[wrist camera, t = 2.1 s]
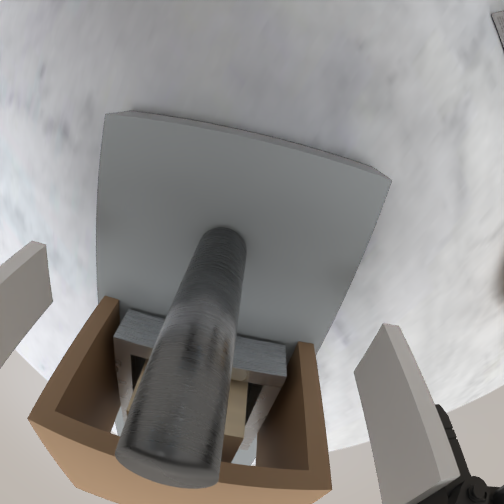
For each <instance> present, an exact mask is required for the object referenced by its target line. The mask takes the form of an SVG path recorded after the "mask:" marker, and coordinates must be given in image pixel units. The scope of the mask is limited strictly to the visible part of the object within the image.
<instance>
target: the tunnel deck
mask: <svg viewBox="0 0 504 504" xmlns="http://www.w3.org/2000/svg"><path fill="white" fill-rule="evenodd" d="M391 182H392V180H391V179H390V178H388V177H387V176H385V175H384V174H382V173H381V172H379V171H378V170H376V169H375V168H373V167H371V166H368V165H365V164H362V163H359V162H356V161H353V160H350V159H347V158H344V157H341V156H338V155H334V154H331V153H328V152H325V151H321V150H318V149H314V148H311V147H308V146H304V145H300V144H297V143H293V142H289V141H286V140H282V139H278V138H274V137H270V136H266V135H262V134H258V133H253V132H249V131H245V130H240V129H236V128H231V127H226V126H221V125H216V124H211V123H206V122H201V121H195V120H190V119H184V118H178V117H172V116H165V115H158V114H151V113H144V112H136V111H124V112H116V113H109V114H105V121H104V128H103V136H102V144H101V154H100V164H99V177H98V192H97V216H96V266H97V290H98V306H97V307H96V308H95V310H94V311H93V313H92V314H91V316H90V317H89V319H88V320H87V322H86V323H85V325H84V326H83V328H82V329H81V331H80V332H79V334H78V335H77V337H76V338H75V340H74V341H73V343H72V344H71V346H70V347H69V349H68V350H67V352H66V354H65V355H64V357H63V358H62V360H61V362H60V363H59V365H58V366H57V368H56V370H55V371H54V373H53V375H52V376H51V378H50V380H49V381H48V383H47V385H46V387H45V388H44V390H43V392H42V393H41V395H40V397H39V399H38V400H37V402H36V404H35V406H34V407H33V409H32V411H31V413H30V415H29V417H28V420H29V422H30V424H31V425H32V427H33V429H34V430H35V432H36V433H37V435H38V436H39V438H40V439H41V441H42V443H43V444H44V445H45V447H46V448H47V450H48V451H49V453H50V454H51V456H52V457H53V458H54V460H55V461H56V462H57V464H58V465H59V467H60V468H61V469H62V470H63V472H64V473H65V474H66V476H67V477H68V478H69V479H70V481H71V482H72V483H73V484H74V486H75V487H76V488H79V489H81V490H83V491H86V492H88V493H91V494H94V495H96V496H99V497H102V498H105V499H107V500H110V501H113V502H116V503H119V504H312V503H314V502H315V501H317V500H318V499H320V498H321V497H323V496H324V495H326V494H327V493H328V492H330V491H331V490H332V483H331V474H330V464H329V455H328V445H327V436H326V428H325V420H324V412H323V405H322V397H321V390H320V383H319V376H318V369H317V362H316V354H317V352H318V350H319V349H320V347H321V345H322V343H323V341H324V339H325V337H326V335H327V333H328V331H329V329H330V327H331V325H332V323H333V321H334V319H335V317H336V315H337V312H338V310H339V308H340V306H341V304H342V302H343V300H344V298H345V295H346V293H347V291H348V289H349V287H350V285H351V282H352V280H353V278H354V276H355V273H356V271H357V269H358V266H359V264H360V262H361V259H362V257H363V255H364V252H365V250H366V248H367V245H368V243H369V240H370V238H371V235H372V233H373V230H374V228H375V225H376V223H377V220H378V218H379V215H380V212H381V210H382V207H383V204H384V202H385V199H386V196H387V193H388V191H389V188H390V185H391ZM217 227H225V228H229V229H232V230H234V231H236V232H237V233H238V234H240V235H241V237H242V238H243V239H244V241H245V243H246V247H247V256H246V263H245V271H244V279H243V287H242V295H241V303H240V311H239V318H238V326H237V334H236V336H239V337H244V338H249V339H254V340H259V341H264V342H269V343H275V344H280V345H285V350H286V370H287V378H286V380H285V382H284V384H283V385H282V387H281V389H280V391H279V393H278V395H277V397H276V399H275V401H274V403H273V405H272V407H271V409H270V411H269V412H268V414H267V416H266V418H265V420H264V422H263V424H262V425H261V427H260V429H259V431H258V433H257V434H256V436H255V438H254V440H253V442H252V443H251V445H250V447H249V449H248V450H241V449H238V451H237V453H236V454H235V456H234V458H233V460H232V462H231V463H227V462H221V465H220V473H219V480H218V482H217V484H215V485H213V486H211V487H207V488H200V489H188V488H178V487H172V486H167V485H163V484H160V483H156V482H153V481H151V480H148V479H145V478H143V477H141V476H139V475H137V474H135V473H133V472H131V471H130V470H128V469H127V468H125V467H124V466H123V465H122V464H120V463H119V461H118V460H117V459H116V457H115V450H116V447H117V444H118V442H119V439H120V436H121V433H122V430H123V427H124V424H125V422H124V421H123V415H122V409H121V402H120V395H119V388H118V380H117V372H116V362H115V352H114V340H113V336H114V334H115V332H116V331H117V329H118V327H119V325H120V324H121V322H122V320H123V318H124V316H125V315H126V313H127V311H128V310H129V309H130V310H134V311H137V312H141V313H144V314H148V315H152V316H155V317H159V318H163V319H166V316H167V314H168V311H169V309H170V307H171V304H172V302H173V300H174V297H175V295H176V293H177V290H178V288H179V286H180V283H181V281H182V279H183V276H184V274H185V272H186V270H187V267H188V265H189V263H190V261H191V258H192V256H193V254H194V252H195V249H196V247H197V245H198V243H199V241H200V239H201V237H202V236H203V234H204V233H206V232H207V231H208V230H210V229H213V228H217ZM145 361H146V358H144V363H145ZM252 384H253V383H249V382H248V390H247V397H248V394H249V392H250V389H251V387H252ZM114 422H115V424H116V428H117V433H118V436H117V435H114V434H111V433H110V432H111V430H112V427H113V424H114ZM255 458H256V466H250V465H251V464H252V462H253V461H254V459H255Z"/></svg>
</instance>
